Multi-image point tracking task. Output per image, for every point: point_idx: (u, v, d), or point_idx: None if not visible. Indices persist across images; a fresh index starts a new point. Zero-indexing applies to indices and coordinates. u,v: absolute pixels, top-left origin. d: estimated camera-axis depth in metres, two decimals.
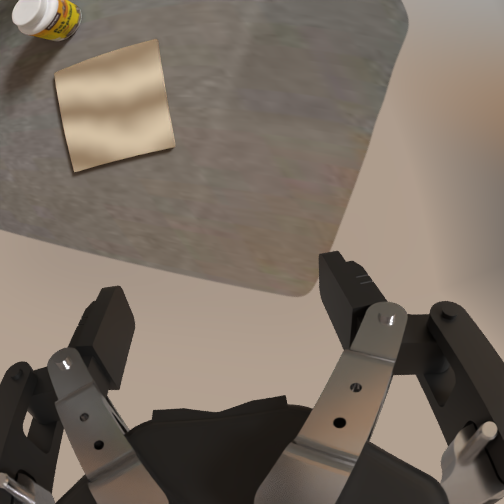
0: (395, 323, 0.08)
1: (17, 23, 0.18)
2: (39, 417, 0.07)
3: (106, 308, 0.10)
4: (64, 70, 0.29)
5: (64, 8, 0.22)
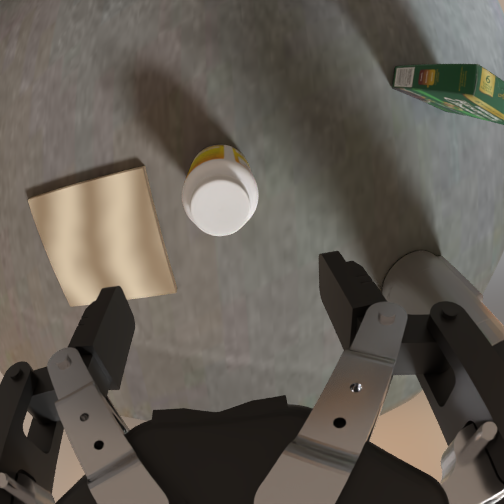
0: (395, 323, 0.08)
1: (196, 195, 0.20)
2: (39, 417, 0.07)
3: (106, 308, 0.10)
4: (143, 184, 0.28)
5: None
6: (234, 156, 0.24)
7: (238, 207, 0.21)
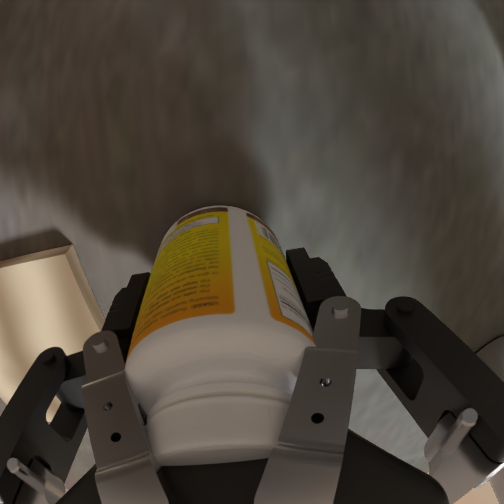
0: (347, 317, 0.08)
1: None
2: (67, 404, 0.08)
3: (139, 293, 0.11)
4: (73, 283, 0.14)
5: None
6: (260, 273, 0.09)
7: None
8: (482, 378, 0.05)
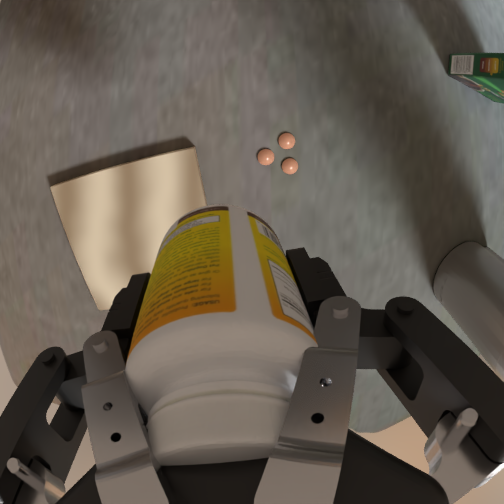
0: (347, 317, 0.08)
1: None
2: (67, 404, 0.08)
3: (139, 293, 0.11)
4: (194, 166, 0.25)
5: None
6: (262, 271, 0.09)
7: None
8: (482, 377, 0.05)
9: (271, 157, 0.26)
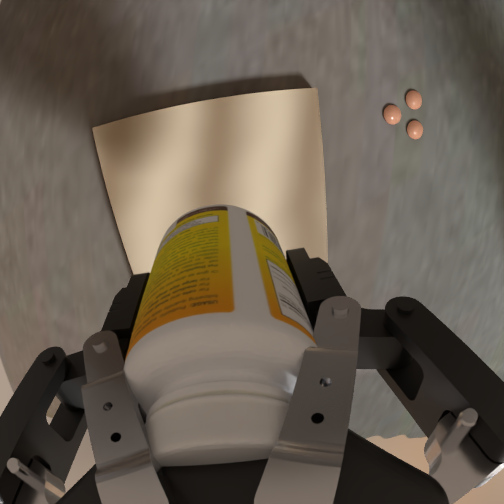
0: (347, 317, 0.08)
1: None
2: (67, 404, 0.08)
3: (139, 293, 0.11)
4: (315, 112, 0.18)
5: None
6: (260, 271, 0.09)
7: None
8: (481, 377, 0.05)
9: (398, 116, 0.19)
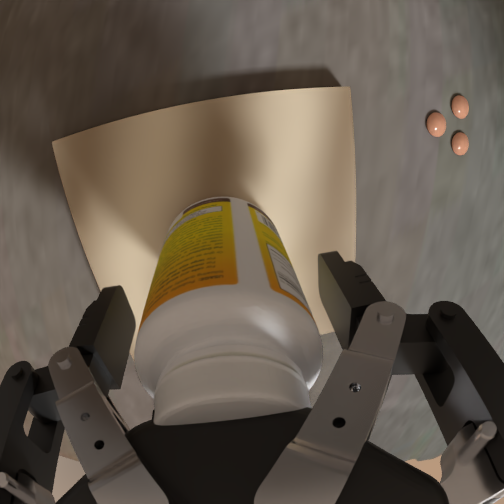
0: (394, 323, 0.08)
1: (165, 423, 0.06)
2: (40, 417, 0.08)
3: (107, 308, 0.10)
4: (347, 119, 0.13)
5: None
6: (261, 253, 0.10)
7: None
8: None
9: (443, 127, 0.14)
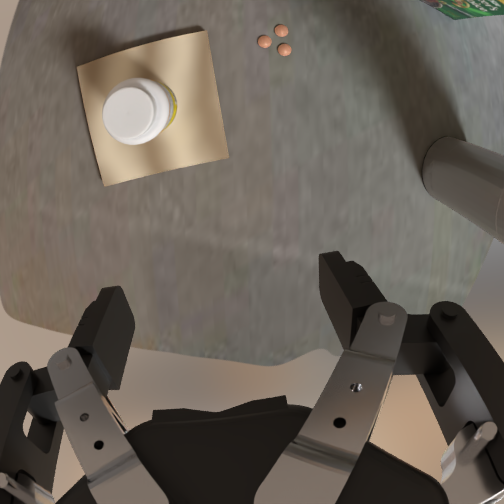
0: (395, 323, 0.08)
1: (106, 103, 0.19)
2: (39, 417, 0.07)
3: (106, 308, 0.10)
4: (206, 44, 0.26)
5: None
6: (152, 80, 0.23)
7: (142, 110, 0.20)
8: None
9: (269, 42, 0.28)
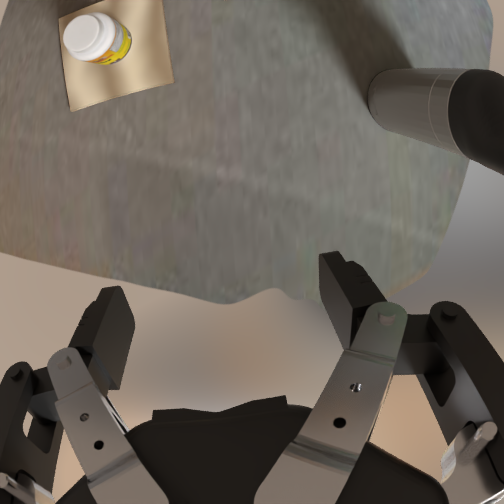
0: (395, 323, 0.08)
1: (67, 27, 0.20)
2: (39, 417, 0.07)
3: (106, 308, 0.10)
4: None
5: (96, 61, 0.26)
6: None
7: (91, 29, 0.21)
8: None
9: None
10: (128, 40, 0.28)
